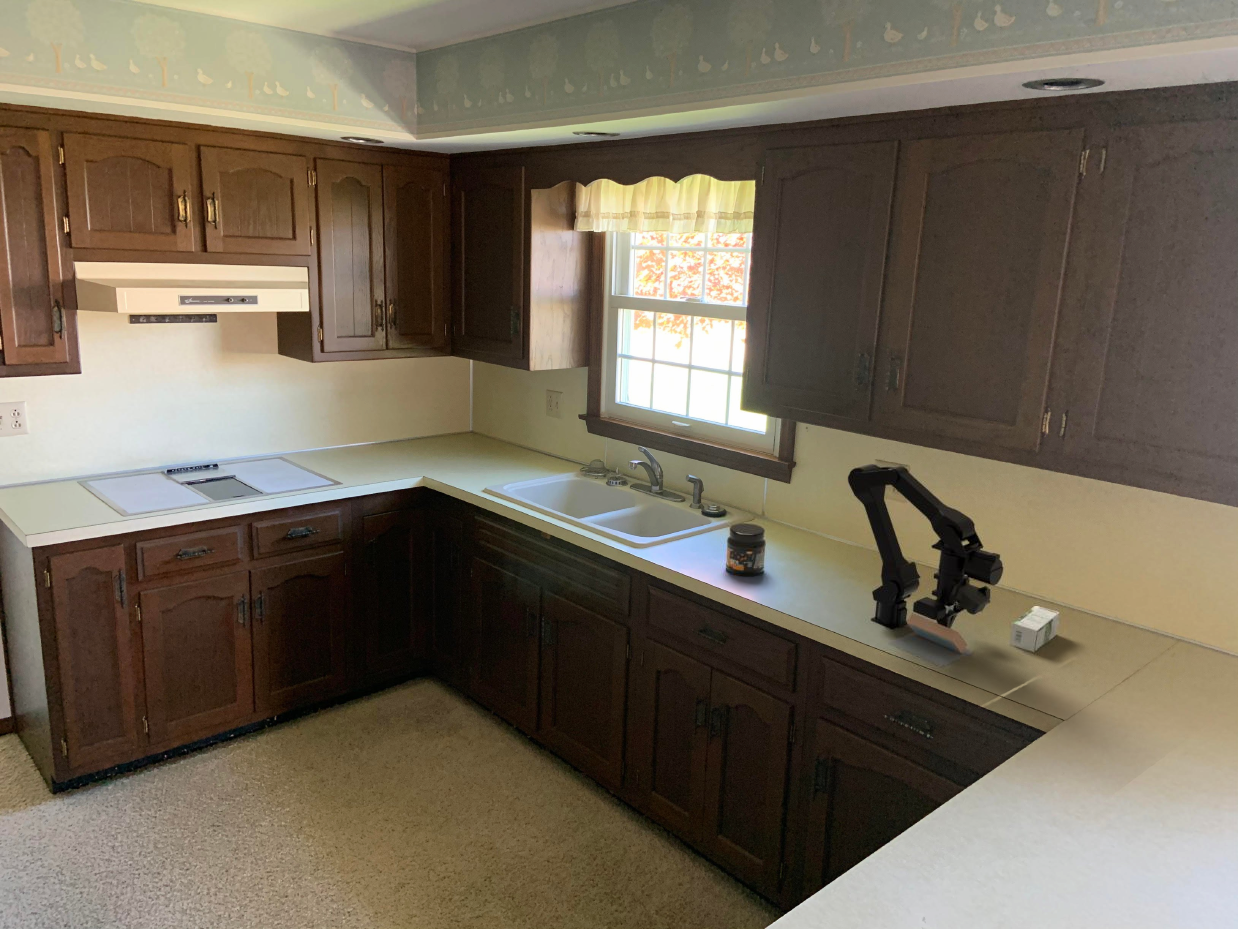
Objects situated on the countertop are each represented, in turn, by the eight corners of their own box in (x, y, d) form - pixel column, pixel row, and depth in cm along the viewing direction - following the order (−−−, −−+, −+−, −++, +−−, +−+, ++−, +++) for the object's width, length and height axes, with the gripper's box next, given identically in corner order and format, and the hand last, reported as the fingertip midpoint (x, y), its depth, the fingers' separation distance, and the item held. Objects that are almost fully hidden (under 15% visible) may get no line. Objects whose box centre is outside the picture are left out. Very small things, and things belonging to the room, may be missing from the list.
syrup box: (1008, 645, 207) (1031, 626, 217) (1035, 654, 203) (1057, 634, 213) (1011, 622, 205) (1034, 604, 216) (1038, 630, 201) (1060, 611, 212)
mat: (887, 644, 206) (887, 642, 206) (919, 631, 213) (919, 629, 213) (941, 668, 195) (941, 667, 195) (972, 654, 202) (972, 652, 202)
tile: (915, 634, 210) (906, 622, 207) (921, 625, 211) (912, 613, 207) (961, 654, 201) (952, 642, 198) (967, 644, 202) (958, 632, 198)
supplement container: (717, 567, 249) (719, 526, 246) (746, 560, 255) (749, 520, 252) (742, 580, 241) (745, 537, 238) (772, 572, 247) (775, 531, 243)
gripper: (960, 593, 191) (952, 660, 195) (1008, 573, 202) (999, 636, 206) (914, 576, 199) (908, 640, 203) (963, 558, 210) (956, 619, 214)
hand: (944, 634), depth 207 cm, fingers closed
